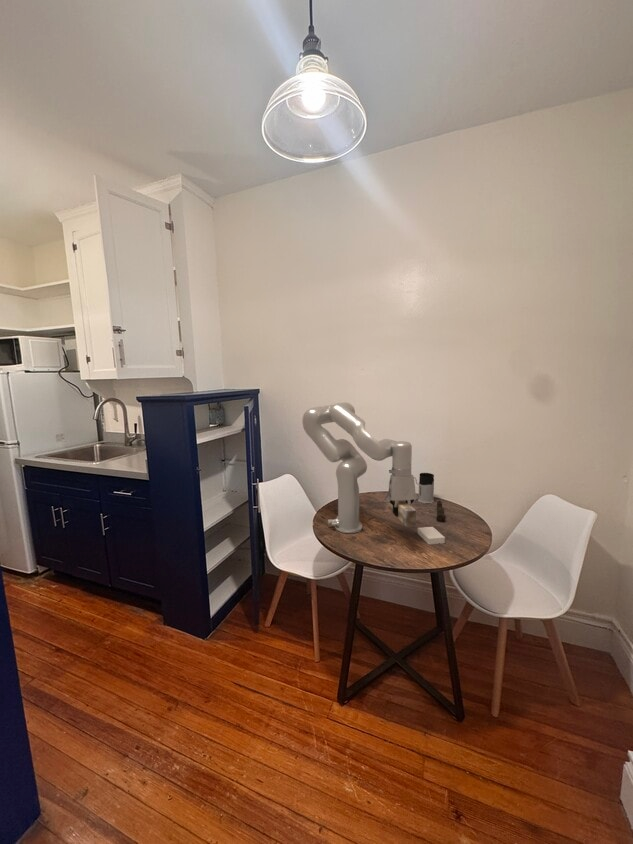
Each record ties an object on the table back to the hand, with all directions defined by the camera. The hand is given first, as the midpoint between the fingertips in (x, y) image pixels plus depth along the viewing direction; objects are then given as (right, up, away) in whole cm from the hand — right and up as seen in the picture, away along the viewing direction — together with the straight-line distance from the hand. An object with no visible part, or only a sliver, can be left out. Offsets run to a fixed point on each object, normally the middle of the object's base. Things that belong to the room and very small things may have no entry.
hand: (401, 514), depth 133 cm
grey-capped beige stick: (0, -1, 0) cm, 1 cm away
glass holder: (+23, -6, +46) cm, 52 cm away
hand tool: (+26, -8, +28) cm, 39 cm away
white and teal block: (+13, -9, +9) cm, 18 cm away
